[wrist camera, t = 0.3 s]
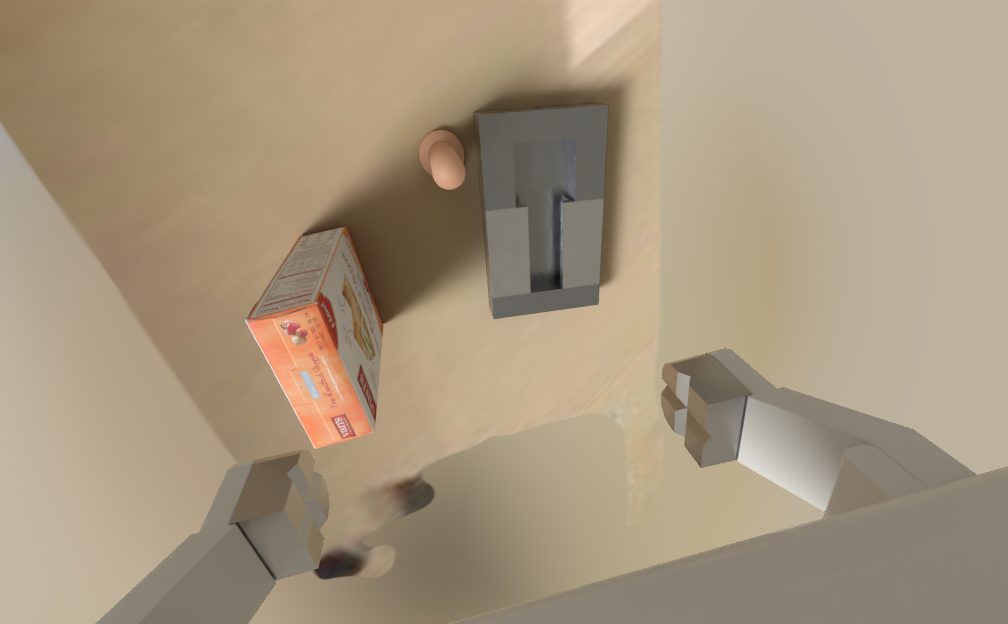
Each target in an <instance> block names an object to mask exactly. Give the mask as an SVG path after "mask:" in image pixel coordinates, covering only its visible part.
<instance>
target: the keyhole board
mask: <svg viewBox="0 0 1008 624" xmlns="http://www.w3.org/2000/svg"><path fill="white" fill-rule="evenodd" d="M474 122H475V134H476V146H477V159H478V171H479V184H480V196H481V208H482V221H483V233H484V246H485V258H486V270H487V283H488V295H489V307H490V310H491V312H492V315H493V318H494V319H498V318H505V317H512V316H520V315H527V314H534V313H541V312H548V311H555V310H562V309H569V308H577V307H584V306H591V305H598V303H599V283H600V263H601V243H602V224H603V204H604V184H605V164H606V144H607V125H608V105H607V104H601V103H586V104H573V105H560V106H547V107H534V108H521V109H508V110H495V111H483V112H474Z"/></svg>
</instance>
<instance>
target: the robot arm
mask: <svg viewBox="0 0 1008 624" xmlns="http://www.w3.org/2000/svg"><path fill="white" fill-rule="evenodd" d="M662 379H663V380H664V381H665V382H666V384H667V386H666V387H665V389H664V390H663V392H662V393H661V400H662V401H661V404H662V408H663V412H664V415H665V418H666V420H667V422H668V424H669V425H670V426H671V428H672V430H673V431H674V432H676V433H678V434H680V435H682V436H684V437H685V447H686V449H687V450H688V451H689V453H690V454H691V455H692V457H693V458H694V459H695V460H696V462H697V463H698V465H699V466H700V467H701V468H703V467H707V466H712V465H716V464H720V463H725V462H729V461H733V460H738V462H739V463H741V464H743V465H745V466H746V467H748V468H750V469H751V470H753V471H755V472H757V473H758V474H760V475H762V476H764V477H765V478H767V479H769V480H770V481H772V482H774V483H776V484H778V485H779V486H781V487H783V488H784V489H786V490H788V491H790V492H791V493H793V494H795V495H796V496H798V497H800V498H802V499H803V500H805V501H807V502H809V503H810V504H812V505H814V506H816V507H817V508H819V509H821V510H823V511H824V512H825V513H824V517H823V518H822V519H819V520H815V521H812V522H808V523H804V524H801V525H798V526H794V527H790V528H786V529H783V530H780V531H776V532H772V533H769V534H765V535H762V536H758V537H754V538H751V539H747V540H744V541H740V542H736V543H733V544H729V545H726V546H722V547H719V548H715V549H712V550H708V551H705V552H701V553H697V554H694V555H691V556H687V557H684V558H680V559H677V560H673V561H669V562H666V563H662V564H658V565H655V566H651V567H648V568H644V569H641V570H637V571H634V572H630V573H627V574H623V575H619V576H616V577H612V578H609V579H605V580H602V581H599V582H595V583H591V584H588V585H584V586H581V587H577V588H573V589H570V590H566V591H562V592H559V593H555V594H552V595H548V596H545V597H541V598H537V599H534V600H530V601H527V602H523V603H519V604H516V605H512V606H509V607H505V608H502V609H498V610H494V611H491V612H487V613H484V614H480V615H476V616H473V617H469V618H466V619H462V620H459V621H455V622H452V623H448V624H1008V467H1005V468H1001V469H997V470H994V471H990V472H986V473H983V474H979V475H977V474H975V473H974V472H972V471H971V470H970V469H968V468H967V467H965V466H964V465H963V464H961V463H960V462H958V461H957V460H956V459H954V458H952V457H951V456H950V455H949V454H947V453H946V452H944V451H943V450H942V449H940V448H939V447H937V446H936V445H934V444H933V443H932V442H930V441H929V440H928V439H926V438H925V437H923V436H922V435H920V434H919V433H917V432H916V431H915V430H913V429H910V428H907V427H904V426H901V425H898V424H895V423H892V422H888V421H886V420H883V419H879V418H876V417H873V416H870V415H867V414H864V413H861V412H858V411H855V410H852V409H849V408H845V407H843V406H839V405H836V404H833V403H830V402H827V401H824V400H821V399H818V398H815V397H812V396H809V395H806V394H802V393H799V392H796V391H793V390H790V389H787V388H784V387H783V388H778V389H777V388H775V387H774V386H773V385H772V384H771V383H770V382H768V381H767V380H766V379H765V378H764V377H762V376H761V375H760V374H759V373H758V372H757V371H756V370H754V369H753V368H752V367H751V366H750V365H749V364H747V363H746V362H745V361H744V360H743V359H742V358H740V357H739V356H738V355H737V354H736V353H734V352H733V351H732V350H730V349H727V348H724V349H720V350H717V351H713V352H709V353H706V354H703V355H699V356H695V357H691V358H687V359H682V360H679V361H674V362H670V363H666V364H665V365H664V367H663V370H662ZM314 464H315V461H314V459H313V457H312V455H311V453H310V452H309V451H308V450H299V451H295V452H290V453H285V454H281V455H276V456H271V457H267V458H262V459H258V460H255V461H250V462H245V463H241V464H236V465H233V466H232V467H231V468H230V469H228V471H227V473H226V475H225V477H224V479H223V481H222V484H221V486H220V488H219V490H218V492H217V494H216V497H215V499H214V501H213V503H212V505H211V508H210V510H209V512H208V514H207V516H206V518H205V521H204V523H203V525H202V527H201V529H200V531H199V533H196V534H192V535H190V536H189V537H188V538H187V539H186V540H185V541H184V542H183V543H182V544H181V545H180V546H178V547H177V548H176V549H175V550H174V551H173V552H172V553H171V554H170V555H169V556H168V557H167V558H166V559H164V560H163V561H162V562H161V563H160V564H159V565H158V566H157V567H156V568H155V569H154V570H153V571H152V572H151V573H149V574H148V575H147V576H146V577H145V578H144V579H143V580H142V581H141V582H140V583H139V584H138V585H137V586H136V587H134V588H133V589H132V590H131V591H130V592H129V593H128V594H127V595H126V596H125V597H124V598H123V599H122V600H121V601H119V602H118V603H117V604H116V605H115V606H114V607H113V608H112V609H111V610H110V611H109V612H108V613H106V614H105V615H104V617H102V618H101V619H100V620H99V621H98V622H97V623H96V624H248V623H249V622H250V620H251V619H252V617H253V616H254V614H255V613H256V612H257V610H258V609H259V607H260V606H261V604H262V603H263V601H264V600H265V599H266V597H267V595H268V594H269V593H270V591H271V590H272V588H273V587H274V585H275V584H276V582H275V581H276V580H280V579H283V578H286V577H290V576H293V575H297V574H300V573H303V572H307V571H311V570H314V569H317V568H318V567H319V562H320V556H321V551H322V546H323V540H324V538H323V536H322V534H321V532H320V530H319V529H320V528H321V527H322V525H323V524H324V523H325V522H326V520H327V518H328V512H329V494H328V490H327V486H326V483H325V481H324V479H323V477H322V475H320V474H318V473H316V472H314V471H313V468H314Z"/></svg>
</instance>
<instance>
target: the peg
mask: <svg viewBox="0 0 1008 624" xmlns="http://www.w3.org/2000/svg"><path fill="white" fill-rule="evenodd" d="M464 158H465V152H464V148H463V145H462V143H461V142H460V140H459V139H458V138H457V137H456V136H455V135H454V134H453V133H451V132H449V131H446V130H435V131H432V132H430V133H429V134H427V135H426V136H425V137H424V138H423V140H422V141H421V143H420V147H419V159H420V162H421V165H422V166H423V168H424V169H425V171H426V172H427V173H429V174H430V175H432V176H433V178H434V181H435V182H436V183H437V185H438V186H440V187H441V188H444V189H448V190H451V189H455V188H457V187H459V186H460V185H461V184H462V183H463V181H464V179H465V174H466V172H465V167H464V165H463V163H464Z"/></svg>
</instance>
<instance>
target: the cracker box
mask: <svg viewBox="0 0 1008 624" xmlns="http://www.w3.org/2000/svg"><path fill="white" fill-rule="evenodd" d="M245 321H246V323H247V325H248V326H249V328H250V330H251V332H252V334H253V336H254V338H255V339H256V341H257V343H258V345H259V347H260V348H261V350H262V352H263V354H264V356H265V358H266V360H267V361H268V363H269V365H270V367H271V369H272V371H273V372H274V374H275V376H276V378H277V380H278V382H279V383H280V385H281V387H282V389H283V391H284V393H285V394H286V396H287V398H288V400H289V402H290V403H291V405H292V407H293V409H294V411H295V413H296V414H297V416H298V418H299V420H300V422H301V424H302V425H303V427H304V429H305V431H306V433H307V435H308V436H309V438H310V440H311V442H312V444H313V446H314V448H316V449H317V448H320V447H324V446H327V445H331V444H334V443H338V442H342V441H345V440H349V439H352V438H356V437H359V436H363V435H366V434H369V433H373V432H374V431H375V420H376V407H377V395H378V383H379V372H380V360H381V348H382V336H383V323H382V321H381V318H380V316H379V313H378V310H377V307H376V305H375V302H374V299H373V296H372V294H371V291H370V288H369V286H368V283H367V280H366V277H365V275H364V272H363V269H362V266H361V264H360V261H359V258H358V255H357V253H356V250H355V247H354V245H353V242H352V239H351V236H350V234H349V231H348V228H347V226H344V227H340V228H336V229H331V230H327V231H323V232H319V233H314V234H310V235H306V236H301V237H299V239H298V240H297V241H296V243H295V245H294V246H293V248H292V249H291V251H290V252H289V254H288V255H287V257H286V258H285V260H284V261H283V263H282V264H281V266H280V268H279V269H278V271H277V272H276V274H275V275H274V277H273V278H272V280H271V281H270V283H269V284H268V286H267V287H266V289H265V290H264V292H263V294H262V295H261V297H260V298H259V300H258V301H257V303H256V304H255V306H254V307H253V309H252V310H251V312H250V314H249V315H248V317H247V318H246V320H245Z"/></svg>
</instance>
